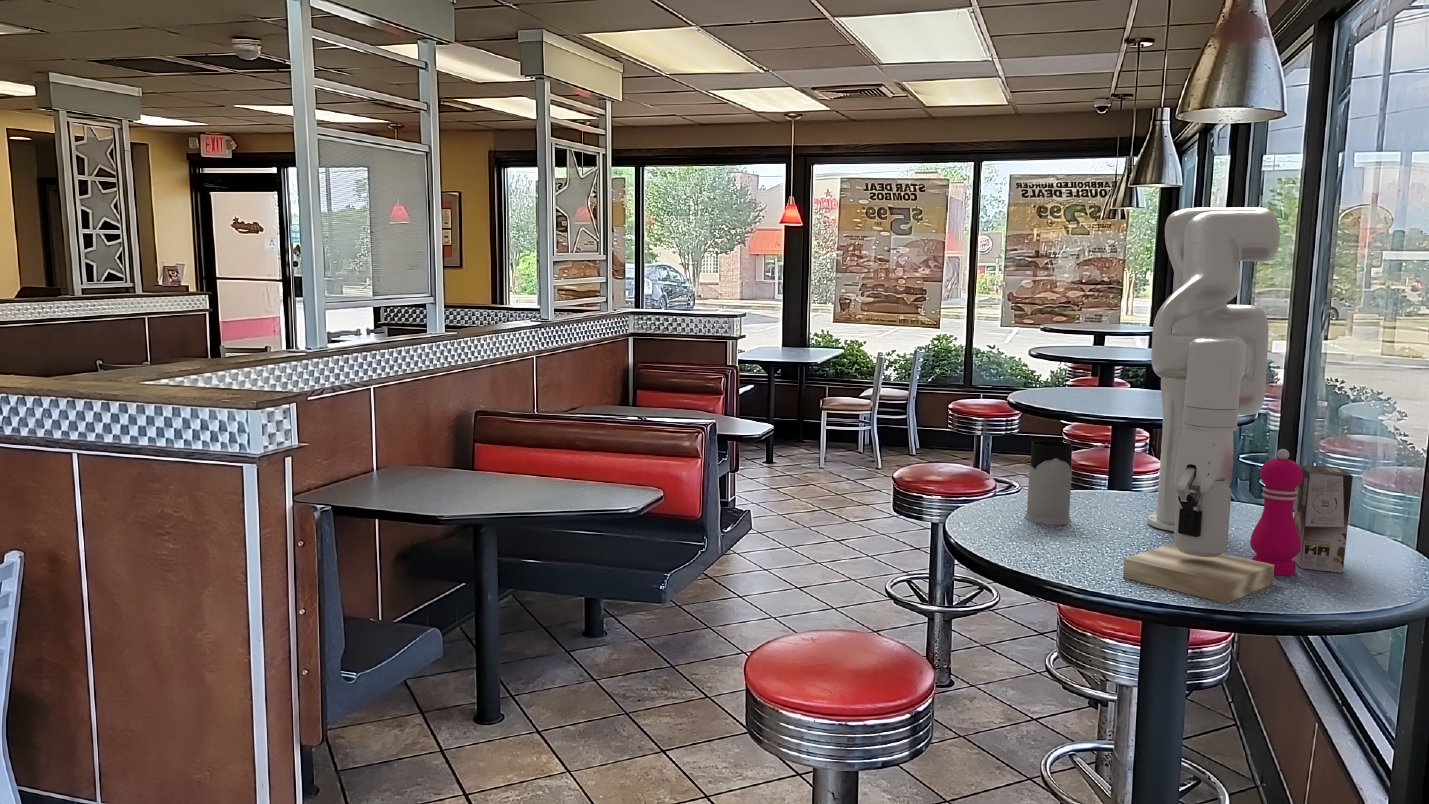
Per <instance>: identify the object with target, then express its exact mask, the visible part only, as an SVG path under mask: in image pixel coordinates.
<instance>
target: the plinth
mask: <svg viewBox="0 0 1429 804" xmlns="http://www.w3.org/2000/svg"><path fill="white" fill-rule="evenodd" d="M1122 573H1123V574H1122V578H1124V579H1129V580H1132V581H1136V582H1140V583H1144V584H1147V585H1153V586H1156V587H1161V588H1164V589H1169V590H1173V591H1177V592H1181V593H1185V594H1189V595H1194V596H1197V597H1201V598H1206V599H1209V600H1212V601H1213V600H1214V601H1217V602H1221V603H1225V604H1230V603H1231V602H1234V601H1237V600H1238V599H1241V598H1244V597H1246V596H1248V595H1250V594H1252V593H1254V592H1257V591H1259V590H1261V589H1264V588H1265V587H1268V586H1270V585H1273V584H1274V576H1275V575H1274V565H1273V564H1269V563H1264V562H1259V561H1254V560H1252V559H1249V558H1244V557H1239V556H1234V555H1229V554H1226V553H1222V554H1221V555H1220V556H1218V557H1198V556H1192V555H1188V554H1185V553H1182V552H1180V551H1179V549H1178V548H1177V547H1176V546H1175V545H1174V542H1173V543H1169V544H1166V545H1162V546H1158V547H1156V548H1154V549H1150V550H1147V551H1144V552H1141V553H1138V554H1136V555H1135V554H1134V555H1132V556H1128V557H1126V558H1124V559H1123V572H1122Z"/></svg>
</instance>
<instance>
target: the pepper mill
mask: <svg viewBox="0 0 1429 804" xmlns="http://www.w3.org/2000/svg"><path fill="white" fill-rule="evenodd" d="M1276 456H1277V457H1275V458H1271V459H1268V460H1267V461H1265V462H1264V463H1263V464H1262V466H1261V468H1260V471H1259V472H1260V473H1259V477H1260V480H1261V481H1262V483H1263V484H1264V486H1263V487H1262V488H1261V489H1262V493H1261V495H1262V497H1264V505H1263V511H1262V514H1261V516H1260V518H1259V520H1258V521H1257V523H1256V525H1255V527H1254V529H1253V530H1252V532H1251V536H1250V540H1249V546H1250V547H1251V549H1252V550H1253V551H1254V553H1255V555H1253V556H1252V557H1251V560H1254V561H1259V562H1264V563H1269V564H1273V565H1274V575H1273V576H1284V577H1285V576H1288V577H1289V576H1292V575H1295V573H1296V566H1297V563H1296V562H1295V560H1294V559H1293V558H1294V557H1295V556H1296V555H1298V554H1299V552H1300V550H1301V541H1300V536H1299V533H1298V531H1297V528H1296V526H1295V523H1294V505H1295V500H1296V499H1297V493H1298V491H1297V490H1296V487H1297V486H1298V485H1299V484H1300V483H1301V482H1302V479H1303V472H1302V469H1301V467H1300V466H1299V465H1300V464H1298V463H1297V462H1296V461H1294V460H1292V459H1289V457H1290V452H1289V451H1288V450H1287V449H1285V448H1281V449H1279V450H1278V451H1277V452H1276Z"/></svg>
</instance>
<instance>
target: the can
mask: <svg viewBox="0 0 1429 804" xmlns="http://www.w3.org/2000/svg"><path fill="white" fill-rule="evenodd" d="M1227 481H1228V480H1227V479H1224V481H1215V482H1214V486H1213V487H1212V488H1211V490H1210V491H1209V493H1208V494H1205V495H1204V496H1203V501H1202V504H1201V507H1200V510H1199V511H1202V523H1201V535H1200V536H1199V537H1193V536H1188V535H1183V534H1179V533H1178V525H1179V511H1180V508H1179V499H1178V496H1179V495H1178V492H1177V504H1176V517H1175V530H1174V532H1173V543H1174V545H1175V546H1176V547H1177V548H1178V549H1179V551H1180V552H1182V553H1185V554H1188V555H1192V556H1198V557H1218V556H1220V555H1221V554H1225V552H1226V551H1227V550H1228V538H1229V527H1230V512H1231V504H1232V503H1231V502H1232V488H1231V487H1230V486H1228V485H1227V484H1226V483H1227ZM1190 489H1193V490H1200V487H1198V486H1190ZM1190 495H1192V496H1193V498H1194V501H1195V500H1196V497H1197V495H1193V494H1190Z"/></svg>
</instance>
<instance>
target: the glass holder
mask: <svg viewBox="0 0 1429 804" xmlns="http://www.w3.org/2000/svg"><path fill="white" fill-rule="evenodd" d="M1072 456H1073V444H1072V443H1069V442H1064V441H1056V440H1036V441H1032V442H1031V452H1030V465H1029V468H1028V472H1029V474H1028V485H1027V486H1028V488H1027V489H1028V490H1027V491H1028V492H1027V502H1026V503H1027V505H1026V506H1027V507H1026V512H1025V515H1024V519H1025V520H1026V521H1028V522H1031V523H1035V524H1041V525H1049V526H1050V525H1052V526H1059V525H1060V526H1061V525H1062V524H1064V525H1069V524H1071V523H1072V519H1071V517H1070V507H1071V506H1070V505H1071V490H1072V477H1073V476H1072V475H1073V473H1072V471H1073V467H1072V460H1073V459H1072ZM1070 522H1071V523H1070ZM1068 523H1069V524H1068Z"/></svg>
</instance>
